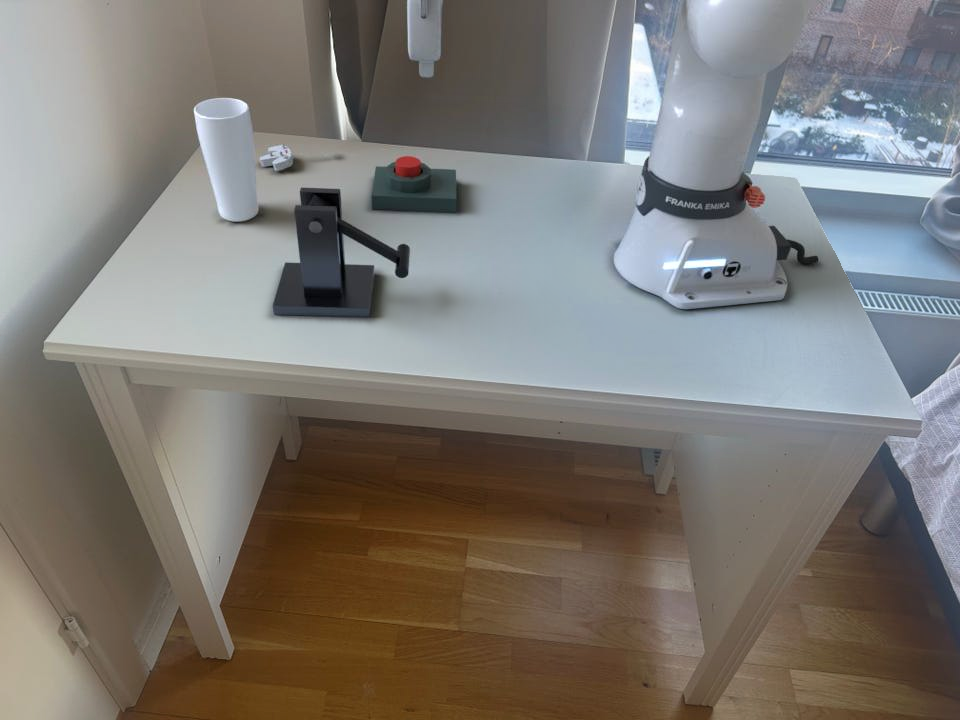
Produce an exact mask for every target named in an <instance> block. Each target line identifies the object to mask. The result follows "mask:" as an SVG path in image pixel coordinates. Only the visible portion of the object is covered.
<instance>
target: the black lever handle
mask: <svg viewBox="0 0 960 720" xmlns="http://www.w3.org/2000/svg"><path fill="white" fill-rule="evenodd" d="M307 206H333V205H332V204H330V203H328V202H326V201H325V200H323V199H321V198H320V197H318V196H316V195H313V197H312V198H311V200H310V202H309V203H308V205H307ZM333 207H335V206H333ZM337 222H338V231H339V232H341V233H342V234H343V236H346V237H348V238H349V239H352V240H353V241H354V242H356V243H358V244H360V245H362V246H364V247H365V248H367V249H369V250H371V251H373V252H374V253H376V254H378V255H379V256H381V257H383V258H384V259H387V260H388V261H390V262H391V263H394V264H395V267H394V274H395V276H396V277H397V278H399V279H404V278H406V277H408V276H409V272H410V256H411V248H410V246H409V245H408V244H406V243H401V244H399V245H397V247H396V249H395V248H393V247H391V246H390V245H388V244H386V243H384V242H382V241H381V240H379V239H377V238H376V237H373V236H372V235H371V234H369V233H367V232H365V231H364V230H362V229H360V228H358V227H356V226H355V225H353V224H351V223H350V222H348V221H346V220H345V219H343V218H342V219H341V218H339V217H337Z"/></svg>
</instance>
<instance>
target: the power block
mask: <svg viewBox="0 0 960 720" xmlns="http://www.w3.org/2000/svg"><path fill="white" fill-rule="evenodd" d="M370 197H371V198H370V199H371V210H377V211H378V210H380V211H381V210H382V211H405V212H406V211H407V212H433V213H436V212H437V213H457V203H458V202H457V201H458V199H457V169H452V168H451V169H450V168H431V167H429V166H428V164H426V163H424V162H421V174H420V175H419V176H416V177H401V176H398V175H396V161H393V162H391V163H390V164H388V165H387V166H380V165H379V166H378V165H377V166H376V165H375V169H374V176H373V181H372V189H371V195H370Z"/></svg>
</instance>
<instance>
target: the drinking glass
mask: <svg viewBox="0 0 960 720" xmlns="http://www.w3.org/2000/svg"><path fill="white" fill-rule="evenodd" d="M193 114H194V121H195V128H196V133H197V138H198V142H199V145H200V149H201V153H202V156H203V159H204V163H205V166H206V169H207V173H208V177H209V180H210V184H211V187H212V191H213V194H214V198H215V201H216V206H217V211H218V214H219V216H220V217H221V218H222V219H224V220H226V221H229V222H233V223H234V222H235V223H238V222H239V223H240V222H245V221H249V220H251V219H253V218H255V217H256V216H257V215H258V213H259V210H260V206H259V200H258V199H259V198H258V189H257V188H258V187H257V173H256V171H257V170H256V153H255V152H256V151H255V137H254V136H255V135H254V128H253V122H252V117H251V112H250V107H249V104H247V103H246V102H245V101H243V100H241V99H237V98H233V97H232V98H231V97H216V98H210V99H206V100H203V101H200V102H198V103H197V104H196V105H195V106H194V108H193Z"/></svg>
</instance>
